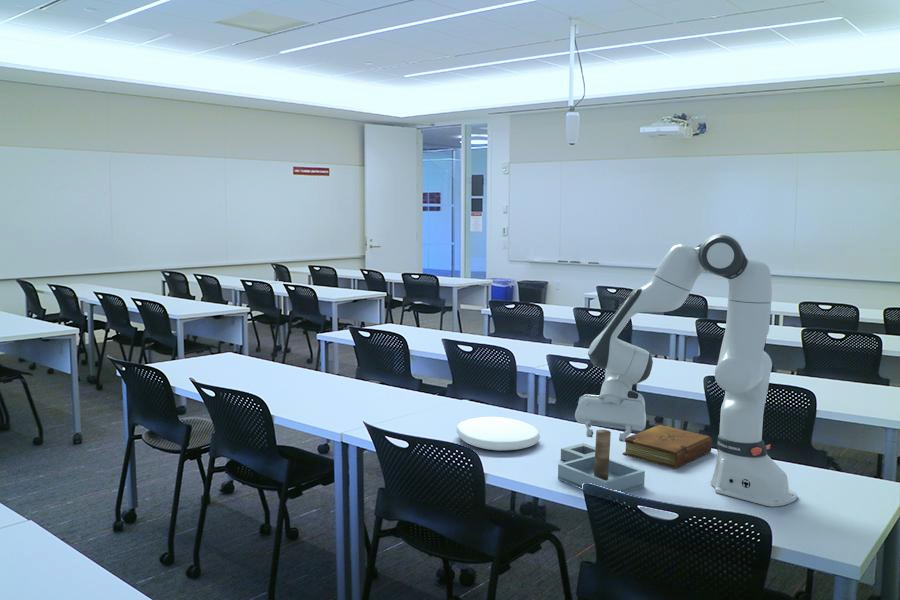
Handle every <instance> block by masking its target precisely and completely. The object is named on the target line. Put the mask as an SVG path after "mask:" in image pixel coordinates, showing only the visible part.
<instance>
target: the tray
mask: <svg viewBox="0 0 900 600" xmlns="http://www.w3.org/2000/svg"><path fill="white" fill-rule="evenodd" d="M557 465H558V466H557V480H558V479H559V481H561V482H564V483H566V484H568V483H569V485H570V484H571V485H570V486H573V485H574V486H573V487H575V486H577V487H576V488H578V487H580V488H582V484H583V483H592V484H595V485H598V486H602V487H605V488H608V489H612V490H617V491H621V492H625V493H624V494H626V493H628V491H629V492H631V491H636V490H639V489H641V488H644V487H645V478H646V477H645V475H646V474H645V473H646V471H645V470H643V469H640V468H637V467H634V466H631V465H629V464H625V463H623V462H620V461H617V460H615V459H612V458H609V473H608V480H603V479H600V478H598V477H595V476H594V465H595V455H591V456H587V457H584V458H580V459H576V460H572V461H568V462H566V461H564V462H561V463H558V464H557ZM580 488H579V489H580Z"/></svg>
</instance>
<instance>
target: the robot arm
mask: <svg viewBox="0 0 900 600" xmlns="http://www.w3.org/2000/svg"><path fill="white" fill-rule="evenodd" d="M707 272H709V273H711V274H713V275H716V276H719V277H722V278H724V279H727V281H728V297H727V308H726V309H727V310H726V319H725V321H726V323H725V330H724V334H723V339H722V342H721V347H720V350H719V351H720V352H719V356H718V360H717V365H716V367H715V370H714V379H715V381H716V383H717V385H718V387H720V388H721V389H722V390H723V391H725V393H724V398H723V402H722V403H721V408H720V417H719V418H720V422H719V434H718V435H717V444H716V450H717V458H716V463H715V467H714V468H715V469H714V471H713V474H712V477H711V480H710V484H711V486H713V488H714V489H715V490H714V491H715V492H716V493H717V494H720V495H721V494H722V495H725V496H729V497H733V498H736V499H740V500H744V501H747V502H751V503H754V504H758V505H763V506H767V507H780V506H785V505H789V504H791V503H793V502H795V501H796V500H797V499H798V493H797V492H796V491H794V490H792V489H790V488H789V487H790V486H789V479H788V476H787V474H786V472H785V470H783V469H782V468H781V467H780V466H779V465H778V464H777V463H776V462H775V461H774V460H773V459H772V458H771V457H770V456H769V455H768V451H767V450H770V449H771V445H772V444H767V445H766V444H765V442H764V440H763V438H762V437H763V422H764V411H765V405H766V401H767V395H768V390H769V384H770V377H771V374H772V373H771V372H772V369H773V368H772V367H773V363H772V359H771V357H770V355H769V353H767V352H766V351H765V349H764V348H765V346H766V341H767V337H768V335H769V331H770V325H771V324H770V323H771V313H772V312H771V309H772V300H773V299H772V298H773V284H772V282H773V281H772V275H771V269H770V267H769V266H768V265H767V264H766V263H765V262H763V261H760V260H757V259H749V258H747V257H746V255H745V252H744V250H743V248H742V245H741V244H740V242H739V241H738V240H737V239H736V238H735V237H734V236H732V235H730V234H726V233H717V234H713V235H711V236H709V237H707V238H706V239H705V240H704V241H703V242H702V243H700V244H699V245H697V246H696V247H694V246H691V245H688V244H684V243H683V244H680V243H678V244H675V245H673V246H671V247H670V248H669V250H668V251H667V252H666V254H665V255H664V257H663V258H662V260H661V261H660V262H659V265H658V266H657V268H656V270H655V272H654V274H653V275H652V277H651V278H650V280H649V281H648V282H647V283H645V284H644V285H643V286H641V287H640V286H639V287H635V288H633V290H632V291H631V292H630V293H628V295H627V296H626V297H625V299H624V300H623V302H622V303H621V304H620V305H619V306H618V308H617V310H616V311H615V312H614V314H612V317H611V318H610V319H609V321H608V322H607V323H606V325H605V326H604V327H603V329H602V330H601V331H600V332H599V333H598V335H597V336H596V337H595V338H594V339H593V340H592V342H591V343H590V345H589V348H588V351H587V352H588V353H587V355H588V358H589V360H590V362H591V364H592V365H593V366H594V367H596V368H600V369H603V370H605V372H604V380H603V382H602V385H601V389H600V393H599V395H597V394H589V393H588V394H584V395H581V396H579V399H578V401H577V407H576V409H575V413H574V418H575V420H576V422H577V423H578V424H584V425H585V428H586V434H585V435H586V437H587V438H593V435H594V431H593V429H590V428H592V426H597V427H599V426H600V427H607V428H615V429H623V430H625V431H623V432H622V433H619V436H618V440H619V442H622V443H626V442H625V439H626V438H627V437H629V435H631V434H632V431H638V432H642V431H645V430H646V425H647V414H646V401H645V398H644V396H643V394H641V393H639V392H637V391H635V390H632V387H633V386H634V385H637V384H640V383H642V382H644V381H646V380H647V379H649V377H650V375H651V371H652V368H653V363H654V362H653V361H654V360H653V357H652V355H651V353H650V352H649V351H648V350H646V349H644V348H642V347H639V346H637V345H634V344H631V343H629V342H627V341H624V340H622V339H620V338H618V337H619V335H620V334H621V332H622V331H623V329H624V328H625V327H626V326H627V324H628V323H629V321H630V320H631V318H632V317H633V316H635V315H636V314H639V313H645V312H648V313H649V312H653V313H655V312H656V313H667V312H671V311H675V310H678V309H679V308H681V307H682V306H683V304H684V303H685V302H686V301H687V298H688V297H689V295H690V293H691V291H692V289H693V287H694V285H695V283H696V282H697V280H698V278H699V277H700V276H701V275H702V274H703V273H707Z"/></svg>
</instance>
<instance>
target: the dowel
mask: <svg viewBox="0 0 900 600" xmlns="http://www.w3.org/2000/svg"><path fill="white" fill-rule="evenodd" d="M611 433H612V432H611V431H610V430H607V429H597V430H596V431H595V446H594V447H595V465H594V476H595V477H598V478H600V479H603V480H608V473H609V459H610V454H611V453H610V451H611V435H612V434H611Z"/></svg>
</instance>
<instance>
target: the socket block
mask: <svg viewBox="0 0 900 600" xmlns="http://www.w3.org/2000/svg"><path fill="white" fill-rule="evenodd" d="M591 455H595V446H593V445H591V444H586V443H584V442H583V443H578V444H574V445H571V446H567V447H563V448H560V460H561V459H562V460H561V461H563V460H565V461H564V462H566V461H567V462H568V461H572V460H576V459H580V458H584V457H587V456H591Z"/></svg>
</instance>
